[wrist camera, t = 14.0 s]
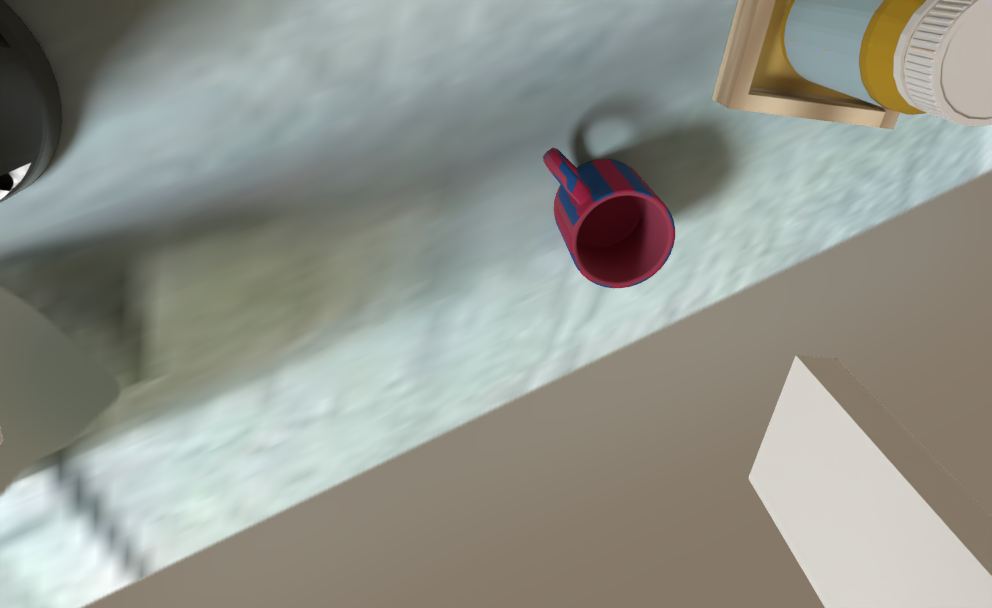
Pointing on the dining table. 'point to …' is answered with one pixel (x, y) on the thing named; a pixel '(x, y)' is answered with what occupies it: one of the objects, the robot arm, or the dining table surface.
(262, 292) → the dining table surface
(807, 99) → the caddy
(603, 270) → the mug
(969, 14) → the bottle
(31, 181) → the robot arm
